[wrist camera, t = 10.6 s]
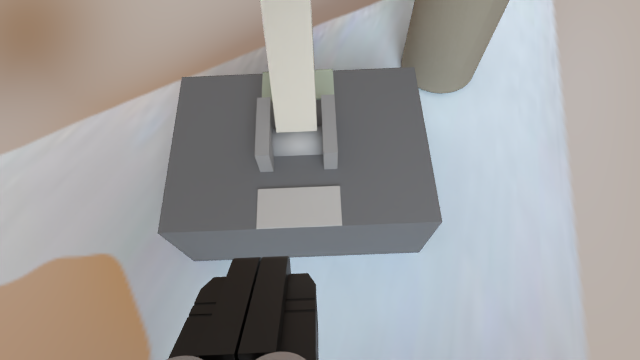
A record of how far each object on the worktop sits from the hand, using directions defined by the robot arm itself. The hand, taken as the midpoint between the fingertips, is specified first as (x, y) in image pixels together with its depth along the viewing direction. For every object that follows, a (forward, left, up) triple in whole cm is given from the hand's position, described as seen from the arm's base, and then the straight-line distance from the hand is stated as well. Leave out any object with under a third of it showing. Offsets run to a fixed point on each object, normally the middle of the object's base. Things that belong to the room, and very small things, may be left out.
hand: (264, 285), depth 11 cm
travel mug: (+15, +28, -23) cm, 39 cm away
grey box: (0, +14, -23) cm, 27 cm away
